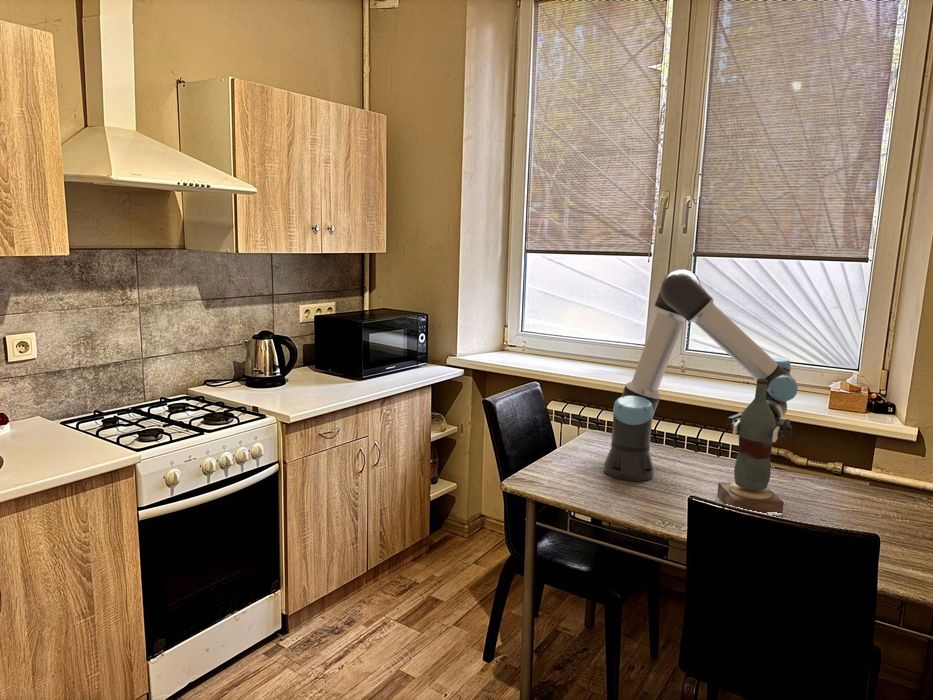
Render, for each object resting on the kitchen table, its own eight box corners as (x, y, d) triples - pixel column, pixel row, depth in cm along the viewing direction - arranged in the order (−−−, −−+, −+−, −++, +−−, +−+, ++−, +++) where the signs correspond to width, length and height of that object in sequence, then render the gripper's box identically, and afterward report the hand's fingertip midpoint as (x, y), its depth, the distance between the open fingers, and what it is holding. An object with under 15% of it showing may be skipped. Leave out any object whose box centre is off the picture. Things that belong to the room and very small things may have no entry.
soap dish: (717, 495, 191) (718, 480, 190) (762, 497, 190) (764, 482, 190) (733, 514, 178) (735, 497, 177) (782, 516, 178) (784, 500, 177)
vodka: (742, 491, 178) (753, 383, 173) (726, 478, 187) (737, 375, 182) (775, 491, 179) (788, 383, 174) (758, 478, 188) (770, 376, 183)
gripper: (806, 434, 190) (797, 455, 172) (727, 421, 202) (710, 439, 183) (809, 409, 189) (801, 427, 170) (729, 397, 201) (712, 413, 182)
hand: (754, 433), depth 177 cm, fingers closed on vodka, 9 cm apart
